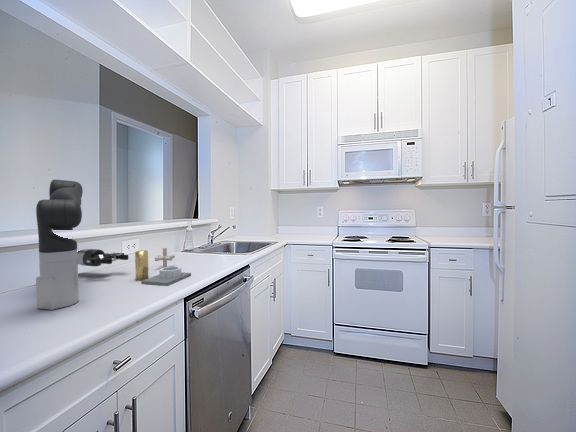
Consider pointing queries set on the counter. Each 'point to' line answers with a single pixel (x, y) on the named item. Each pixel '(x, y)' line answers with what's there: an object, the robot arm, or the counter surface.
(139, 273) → the cylinder
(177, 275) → the plate
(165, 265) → the pipe connector
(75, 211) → the robot arm
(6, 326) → the counter surface
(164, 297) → the counter surface
